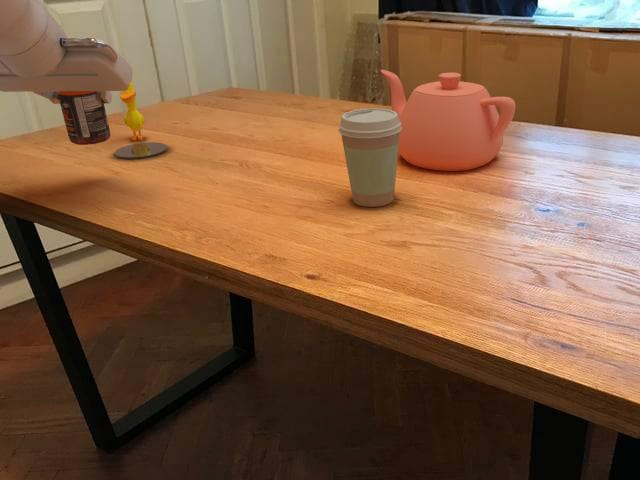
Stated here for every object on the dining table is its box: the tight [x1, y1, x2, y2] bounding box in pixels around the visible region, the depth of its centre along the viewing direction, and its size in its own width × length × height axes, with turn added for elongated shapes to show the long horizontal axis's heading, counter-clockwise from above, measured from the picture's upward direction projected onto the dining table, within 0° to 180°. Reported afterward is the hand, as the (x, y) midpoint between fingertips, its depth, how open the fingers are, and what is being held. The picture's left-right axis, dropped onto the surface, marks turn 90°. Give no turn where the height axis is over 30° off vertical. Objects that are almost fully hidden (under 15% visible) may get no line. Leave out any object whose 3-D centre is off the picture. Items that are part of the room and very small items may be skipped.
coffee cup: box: [338, 107, 402, 208], centre depth 91 cm, size 8×8×12 cm
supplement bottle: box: [57, 91, 111, 146], centre depth 98 cm, size 6×6×11 cm
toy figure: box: [119, 79, 146, 142], centre depth 123 cm, size 7×4×12 cm, turn 9°
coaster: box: [114, 141, 169, 160], centre depth 118 cm, size 9×9×1 cm
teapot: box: [380, 69, 517, 172], centre depth 107 cm, size 25×17×13 cm
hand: (83, 99), depth 99 cm, fingers closed on supplement bottle, 6 cm apart
